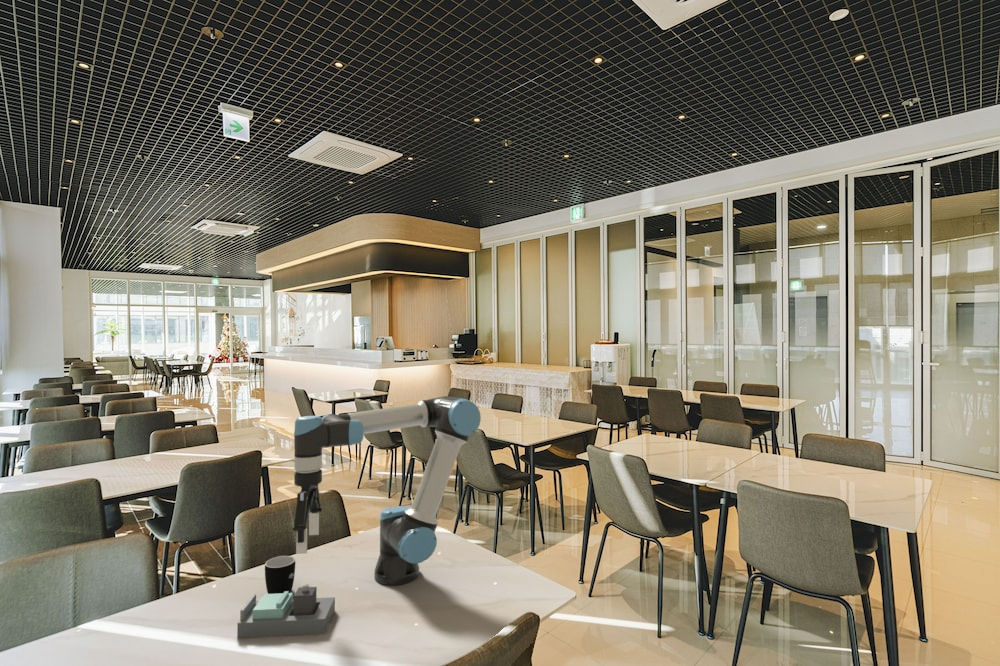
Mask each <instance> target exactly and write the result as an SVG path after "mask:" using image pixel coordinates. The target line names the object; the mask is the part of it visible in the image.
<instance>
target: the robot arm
mask: <svg viewBox="0 0 1000 666" xmlns="http://www.w3.org/2000/svg"><path fill="white" fill-rule="evenodd" d="M481 417H482V416H481V411H480V410H479V407H478V406H477V404H476V403H474V402H473V401H471V400H469V399H466V398H463V397H456V396H455V397H454V396H451V395H446V396H439V397H434V398H428V399H422V400H418V402H417V403H416V404H415V403H414V404H409V405H408V404H407V405H401V406H391V407H386V408H378V409H377V408H376V409H371V410H370V409H369V410H364V411H358V412H357V411H356V412H350V413H342V414H334V413H331V414H325V415H323V416H322V417H321V416H319V415H305V416H299V417H297V418H296V419H295V421H294V433H293V436H294V440H293V441H294V446H293V447H294V458H293V459H292V462H293V463H294V470H295V472H294V475H293V476H294V479H293V483H294V485H295V486H297V487H300V488H301V489H300V491H299V492H298V493H297V494H296V496H297V497H296V498H297V499H296V509H295V516H294V524H293V525H294V526H293V527H292V531H293V532H295V534H296V535H295V537H296V539H295V540H296V541H295V547H296V549H295V554H296V555H302V554H303V555H304V554H307V553H308V536H319V534H320V512H321V513H322V511H323V508H322V505H321V504H322V503H321V498H320V497H321V496H320V491H319V489H320V488H319V484H321V483H322V481H323V470H322V467H323V449H324V448H325V449H326V448H333V447H345V446H353V445H358V444H361V443H362V442H363V440H364V435H366V434H372V433H379V432H385V431H390V430H391V431H393V430H397V429H405V428H410V427H417V426H420V427H421V428H429V427H432V428H433V427H435V430H434V432H435V435H436V439H435V442H434V445H433V448H432V450H431V453H430V454H429V455H430V456H429V458H428V460H427V464H426V466H425V469H424V472H423V474H422V477H421V480H420V481H419V482H420V483H419V485H418V488H417V490H416V493H415V495H414V498H413V500H412V504H411V506H410V505H397V506H391V507H388V508H384V509H383V510H381V512H380V516H379V518H380V519H379V554H378V555H379V556H378V559H377V562H376V565H375V568H374V580H375V581H376V582H377V583H379V584H381V585H386V586H398V585H404V584H407V583H411V582H412V581H414V580H416V579H418V577H419V574H420V565H419V564H422V563H423V562H425V561H426V560H428V559H429V558H431V556H432V555H433V553H434V552H435V550H436V548H437V546H438V545H437V544H438V539H437V535H436V533H435V532H436V530H437V527H438V524H439V522H438V519H437V517H436V516H437V512H438V510H439V507H440V505H441V501H442V499H443V497H444V494H445V490H446V488H447V485H448V483H449V479H450V477H451V474H452V471H453V468H454V466H455V464H456V460H457V458H458V455H459V452H460V449H461V447H462V446H463V445H464V444H467V443H468V440H469V438H470V435H472V434H474V433H476V432H477V430H478V429H479V427H480V424H481V419H482V418H481ZM307 524H308V528H307Z"/></svg>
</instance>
